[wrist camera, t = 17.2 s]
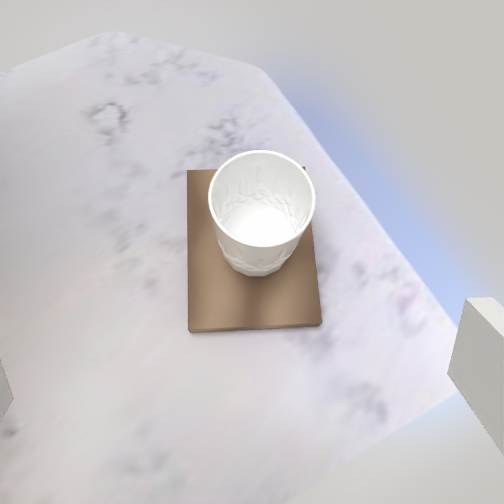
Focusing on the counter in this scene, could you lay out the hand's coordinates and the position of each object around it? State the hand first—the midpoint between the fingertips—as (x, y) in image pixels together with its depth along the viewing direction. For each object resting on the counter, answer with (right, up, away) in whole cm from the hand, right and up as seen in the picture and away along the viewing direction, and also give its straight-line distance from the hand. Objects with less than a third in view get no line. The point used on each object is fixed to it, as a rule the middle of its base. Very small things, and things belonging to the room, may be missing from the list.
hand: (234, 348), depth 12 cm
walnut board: (0, +3, +30) cm, 30 cm away
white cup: (+1, +3, +29) cm, 29 cm away
